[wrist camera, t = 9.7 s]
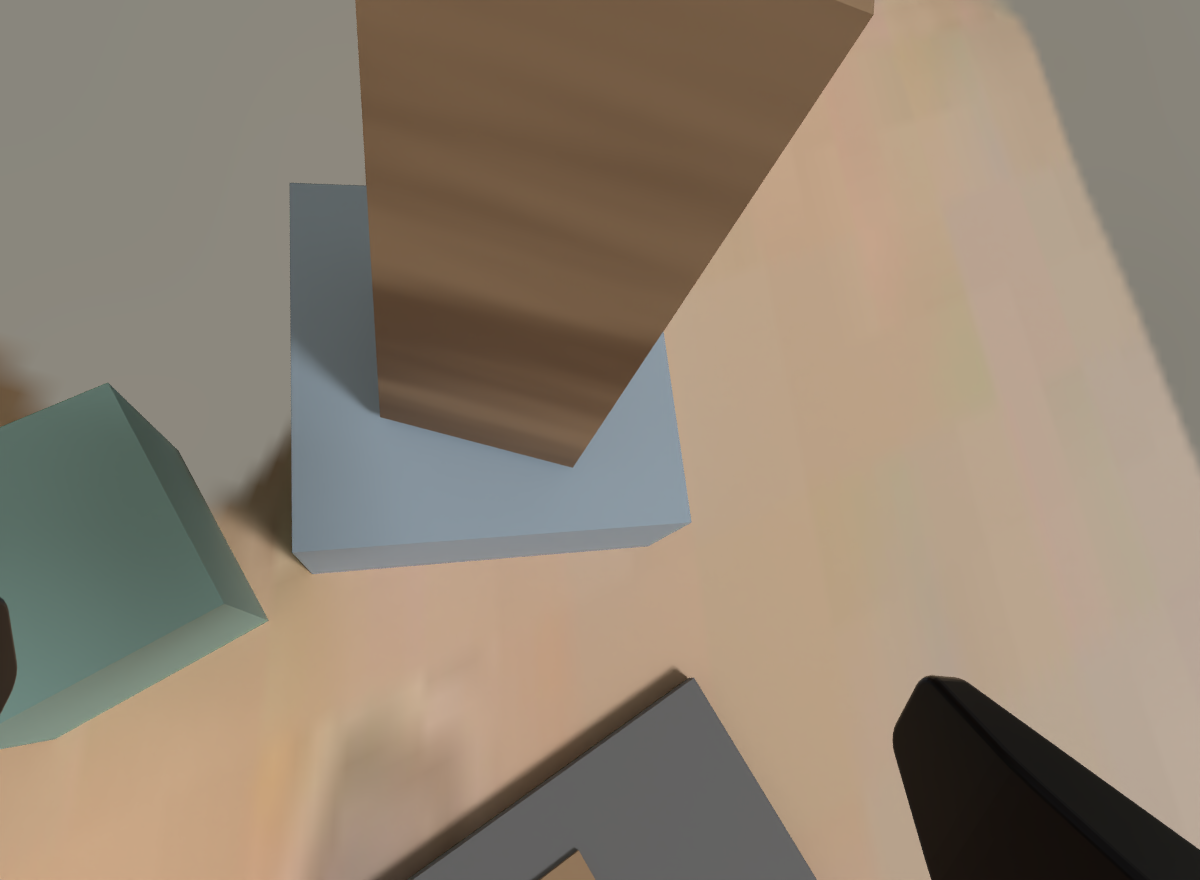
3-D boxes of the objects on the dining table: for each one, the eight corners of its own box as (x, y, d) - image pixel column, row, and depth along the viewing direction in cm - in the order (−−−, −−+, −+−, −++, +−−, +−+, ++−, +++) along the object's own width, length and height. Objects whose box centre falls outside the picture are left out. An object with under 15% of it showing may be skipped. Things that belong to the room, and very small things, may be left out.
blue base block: (644, 548, 22) (691, 522, 19) (313, 575, 20) (292, 552, 16) (608, 268, 25) (643, 195, 21) (309, 265, 22) (289, 182, 19)
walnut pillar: (572, 467, 18) (872, 15, 7) (379, 417, 17) (344, -187, 6) (607, 306, 20) (892, -273, 8) (433, 254, 19) (485, -453, 8)
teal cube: (55, 738, 18) (-73, 762, 13) (-36, 549, 18) (-190, 505, 13) (269, 620, 19) (224, 603, 15) (178, 450, 20) (107, 382, 15)
